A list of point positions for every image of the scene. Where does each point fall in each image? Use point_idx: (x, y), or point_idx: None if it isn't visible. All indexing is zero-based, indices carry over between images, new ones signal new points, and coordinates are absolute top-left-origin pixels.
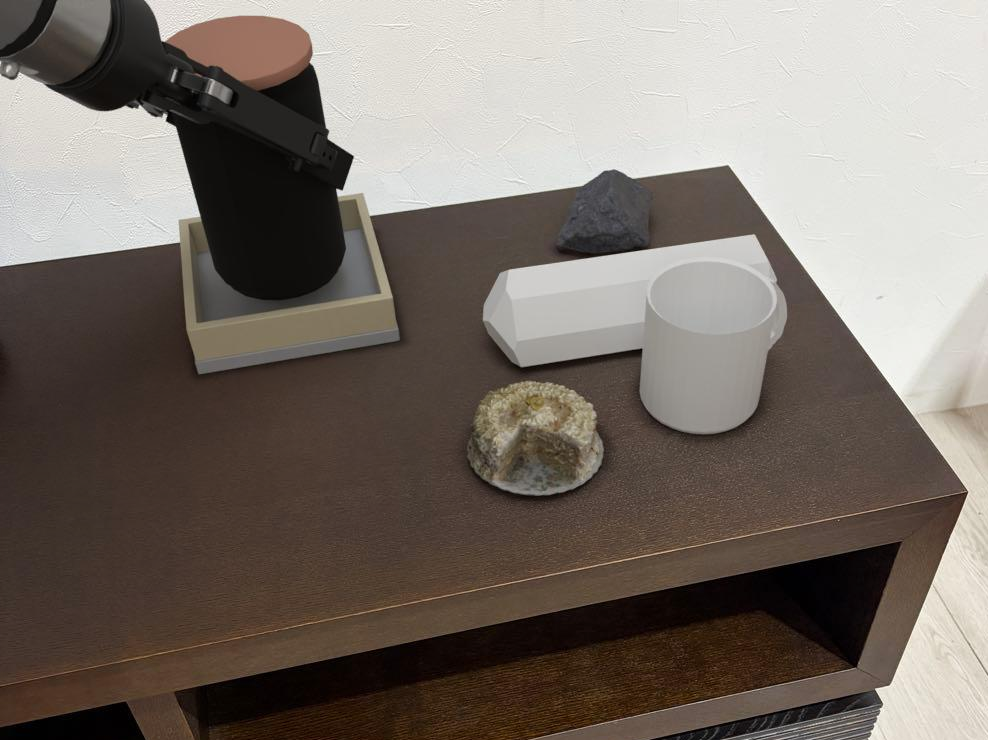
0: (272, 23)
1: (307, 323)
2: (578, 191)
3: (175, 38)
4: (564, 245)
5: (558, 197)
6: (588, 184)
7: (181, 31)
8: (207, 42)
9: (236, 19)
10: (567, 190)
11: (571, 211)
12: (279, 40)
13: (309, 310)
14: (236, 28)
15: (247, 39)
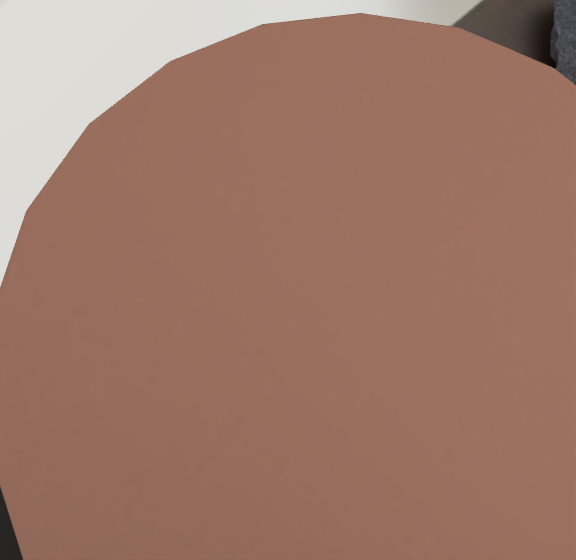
0: (355, 63)
1: None
2: (559, 27)
3: (25, 392)
4: None
5: (478, 26)
6: (564, 9)
7: (6, 310)
8: (211, 352)
9: (182, 99)
10: (478, 9)
11: (570, 66)
12: (506, 178)
13: None
14: (241, 168)
15: (366, 234)
